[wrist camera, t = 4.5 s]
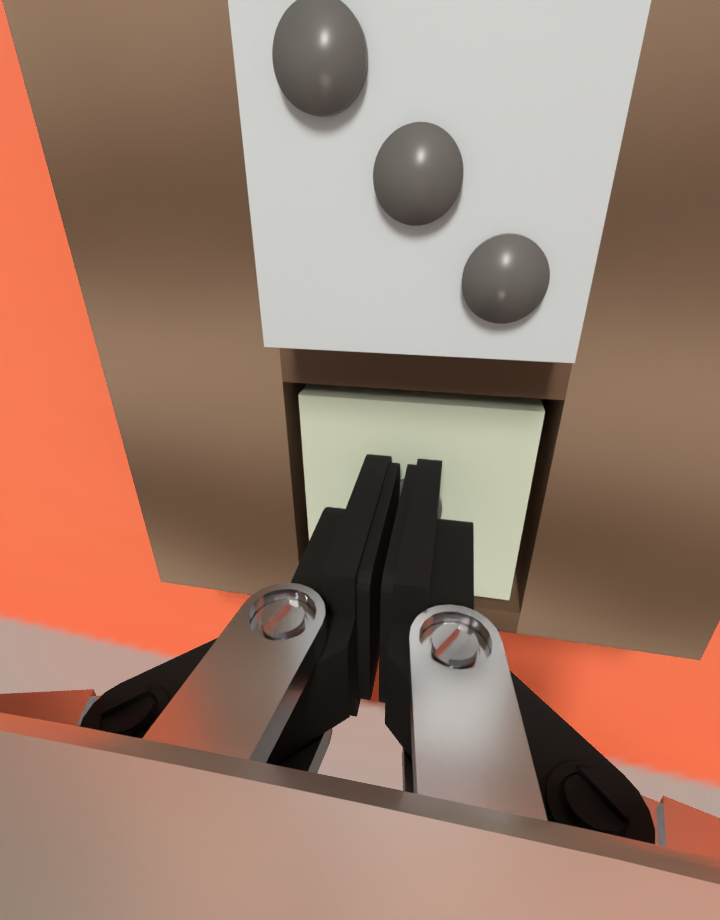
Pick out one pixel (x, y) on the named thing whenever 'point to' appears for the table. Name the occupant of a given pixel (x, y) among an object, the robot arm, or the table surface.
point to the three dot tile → (431, 168)
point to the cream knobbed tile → (436, 438)
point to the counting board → (289, 370)
